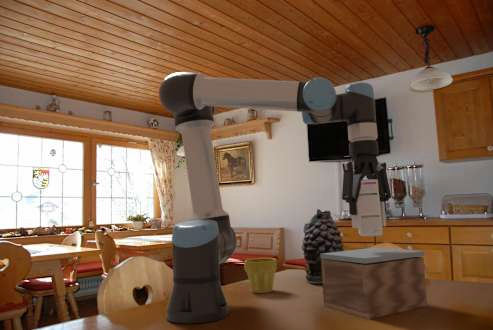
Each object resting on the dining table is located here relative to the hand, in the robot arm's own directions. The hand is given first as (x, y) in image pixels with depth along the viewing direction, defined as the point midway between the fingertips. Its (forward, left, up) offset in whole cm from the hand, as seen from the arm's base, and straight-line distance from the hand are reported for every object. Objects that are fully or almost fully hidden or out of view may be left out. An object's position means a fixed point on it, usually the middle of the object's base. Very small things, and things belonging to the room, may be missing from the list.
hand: (369, 227), depth 106 cm
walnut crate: (0, 0, -20) cm, 20 cm away
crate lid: (0, 0, -8) cm, 8 cm away
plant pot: (-13, +35, -20) cm, 43 cm away
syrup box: (0, 0, -2) cm, 2 cm away
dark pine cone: (+14, +37, -20) cm, 44 cm away
